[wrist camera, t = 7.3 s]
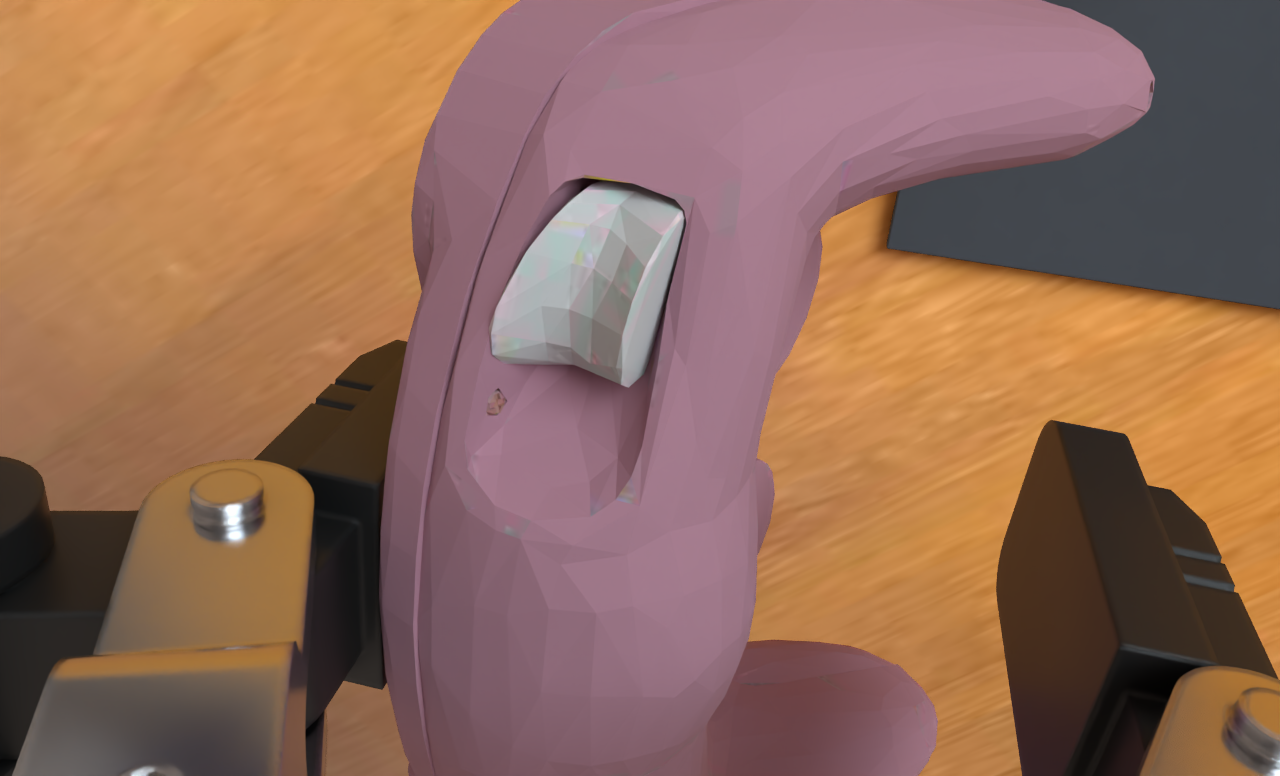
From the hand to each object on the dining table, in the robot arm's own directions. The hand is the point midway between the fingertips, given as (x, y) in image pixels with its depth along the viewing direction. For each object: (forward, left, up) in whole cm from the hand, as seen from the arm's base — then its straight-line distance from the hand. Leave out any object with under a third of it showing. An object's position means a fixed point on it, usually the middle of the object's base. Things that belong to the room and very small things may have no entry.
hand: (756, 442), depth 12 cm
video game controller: (0, 0, -2) cm, 2 cm away
